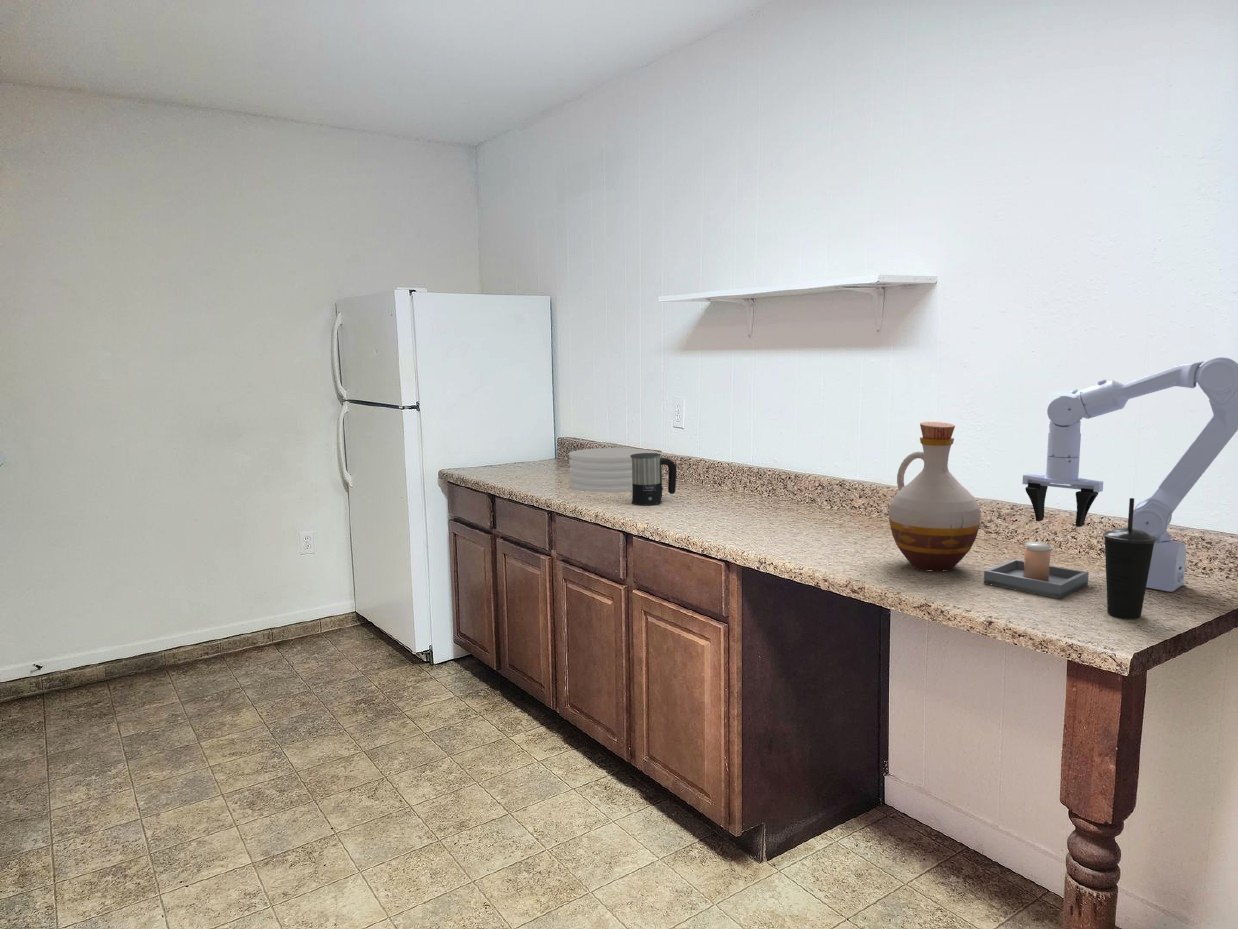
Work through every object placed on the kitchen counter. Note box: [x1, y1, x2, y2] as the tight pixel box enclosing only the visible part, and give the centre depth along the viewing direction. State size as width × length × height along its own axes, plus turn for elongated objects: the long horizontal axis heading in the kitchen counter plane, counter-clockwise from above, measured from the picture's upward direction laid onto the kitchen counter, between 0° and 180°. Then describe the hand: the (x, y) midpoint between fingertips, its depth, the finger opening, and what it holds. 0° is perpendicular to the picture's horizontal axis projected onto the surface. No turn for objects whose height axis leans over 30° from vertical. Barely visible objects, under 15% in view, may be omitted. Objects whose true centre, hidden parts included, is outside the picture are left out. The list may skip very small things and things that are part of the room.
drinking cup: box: [1102, 497, 1157, 620], centre depth 140 cm, size 8×8×20 cm
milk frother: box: [630, 452, 677, 506], centre depth 254 cm, size 14×16×15 cm
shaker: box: [1023, 541, 1052, 582], centre depth 159 cm, size 4×4×7 cm
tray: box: [983, 558, 1089, 599], centre depth 160 cm, size 14×13×2 cm
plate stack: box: [568, 447, 652, 493], centre depth 285 cm, size 28×28×12 cm
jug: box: [888, 421, 982, 572], centre depth 173 cm, size 20×18×30 cm
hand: (1059, 523), depth 168 cm, fingers open, 7 cm apart
